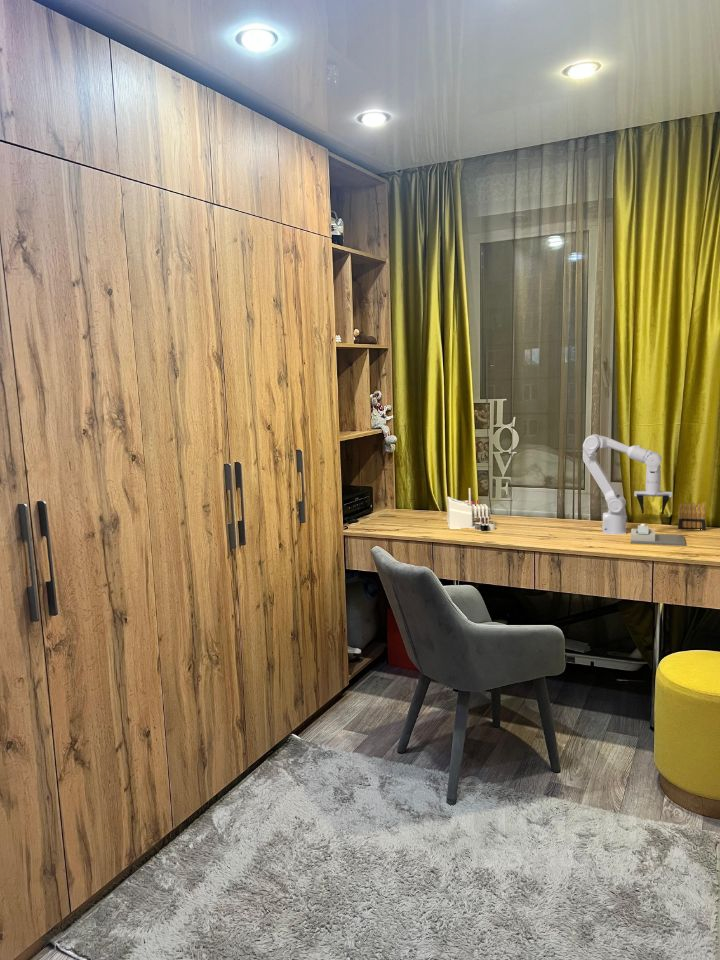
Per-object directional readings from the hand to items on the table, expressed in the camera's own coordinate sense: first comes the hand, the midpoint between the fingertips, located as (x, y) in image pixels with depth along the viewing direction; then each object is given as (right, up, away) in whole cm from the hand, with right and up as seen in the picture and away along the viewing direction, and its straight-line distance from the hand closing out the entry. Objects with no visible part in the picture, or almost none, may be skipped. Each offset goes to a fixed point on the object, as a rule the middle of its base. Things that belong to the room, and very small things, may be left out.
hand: (652, 513), depth 289 cm
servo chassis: (-2, -11, -9) cm, 14 cm away
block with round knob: (-7, -10, -7) cm, 14 cm away
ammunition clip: (+20, -8, +8) cm, 23 cm away
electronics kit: (-71, -7, +41) cm, 83 cm away
